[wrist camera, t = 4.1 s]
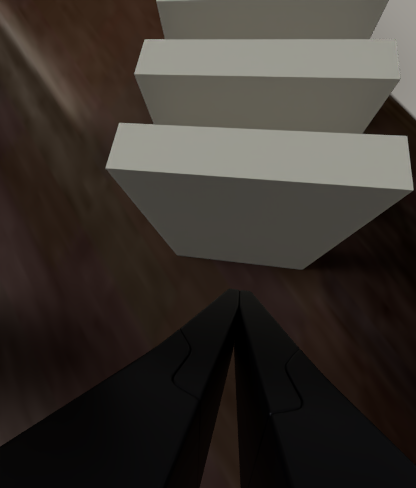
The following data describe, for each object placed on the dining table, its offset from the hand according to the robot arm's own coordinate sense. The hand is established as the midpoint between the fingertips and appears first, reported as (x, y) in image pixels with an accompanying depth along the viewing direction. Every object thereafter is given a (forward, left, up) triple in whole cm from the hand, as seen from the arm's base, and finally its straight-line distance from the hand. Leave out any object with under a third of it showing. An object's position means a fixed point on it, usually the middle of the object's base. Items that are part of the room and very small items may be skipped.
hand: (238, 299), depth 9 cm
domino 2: (+9, -2, -10) cm, 13 cm away
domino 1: (+5, -1, -10) cm, 11 cm away
